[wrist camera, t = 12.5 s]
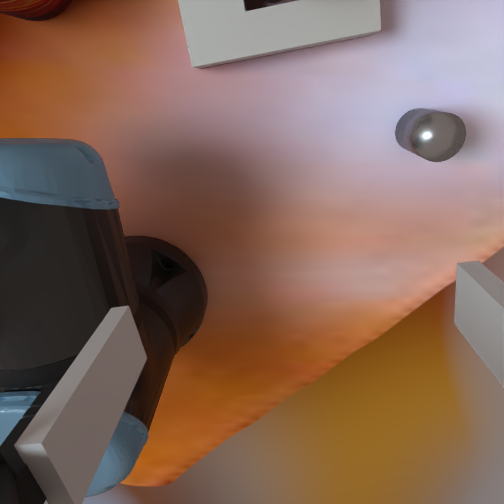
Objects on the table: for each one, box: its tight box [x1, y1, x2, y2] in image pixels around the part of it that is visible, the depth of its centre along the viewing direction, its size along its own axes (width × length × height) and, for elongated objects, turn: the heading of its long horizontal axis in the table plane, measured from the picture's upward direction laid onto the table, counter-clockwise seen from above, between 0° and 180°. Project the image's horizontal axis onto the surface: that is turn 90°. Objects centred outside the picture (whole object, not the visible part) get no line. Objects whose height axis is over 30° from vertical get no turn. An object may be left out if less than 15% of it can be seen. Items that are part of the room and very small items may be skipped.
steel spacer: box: [395, 108, 466, 162], centre depth 35 cm, size 4×4×6 cm
